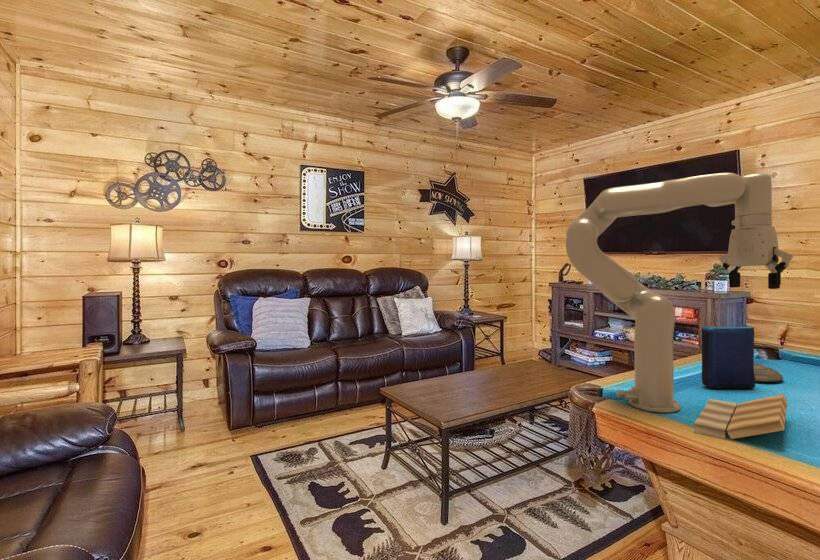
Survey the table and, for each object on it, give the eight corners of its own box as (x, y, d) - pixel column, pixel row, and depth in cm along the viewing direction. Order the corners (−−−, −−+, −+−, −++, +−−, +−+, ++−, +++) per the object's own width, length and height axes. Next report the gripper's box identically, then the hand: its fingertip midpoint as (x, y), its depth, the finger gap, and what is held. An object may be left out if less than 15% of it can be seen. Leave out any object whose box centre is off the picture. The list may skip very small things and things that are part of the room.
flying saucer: (728, 371, 157) (728, 356, 156) (782, 377, 147) (782, 361, 147) (725, 380, 145) (725, 364, 145) (784, 387, 135) (784, 370, 135)
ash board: (724, 438, 98) (724, 429, 98) (693, 432, 102) (693, 423, 102) (736, 410, 116) (736, 403, 116) (710, 406, 120) (709, 398, 120)
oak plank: (784, 430, 91) (778, 420, 92) (731, 439, 97) (726, 430, 98) (787, 401, 109) (783, 394, 109) (742, 410, 115) (738, 403, 116)
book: (747, 385, 138) (747, 323, 137) (759, 390, 132) (759, 326, 132) (699, 385, 139) (699, 324, 138) (709, 390, 134) (709, 326, 133)
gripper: (710, 226, 120) (711, 287, 120) (780, 218, 103) (780, 290, 104) (730, 226, 122) (730, 286, 123) (801, 218, 105) (801, 288, 106)
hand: (753, 287), depth 113 cm, fingers open, 9 cm apart
